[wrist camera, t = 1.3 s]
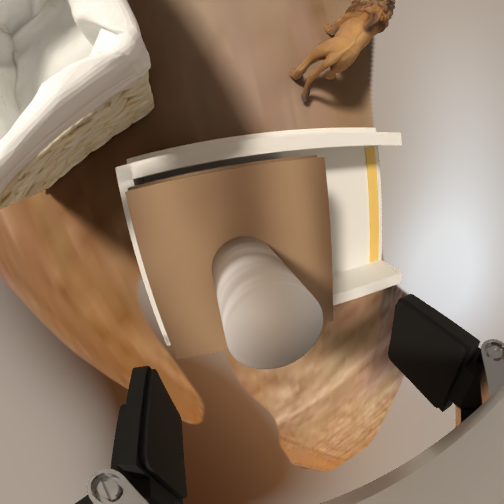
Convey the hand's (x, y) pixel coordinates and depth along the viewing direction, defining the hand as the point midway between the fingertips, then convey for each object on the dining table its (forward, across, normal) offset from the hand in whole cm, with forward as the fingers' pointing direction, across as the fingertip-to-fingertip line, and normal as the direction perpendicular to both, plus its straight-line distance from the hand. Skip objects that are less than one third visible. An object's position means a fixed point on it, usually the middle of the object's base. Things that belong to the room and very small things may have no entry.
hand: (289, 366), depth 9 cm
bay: (+18, -5, -1) cm, 19 cm away
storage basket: (+18, +14, -21) cm, 31 cm away
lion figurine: (+18, -13, -19) cm, 29 cm away
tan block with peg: (+17, 0, -1) cm, 17 cm away
